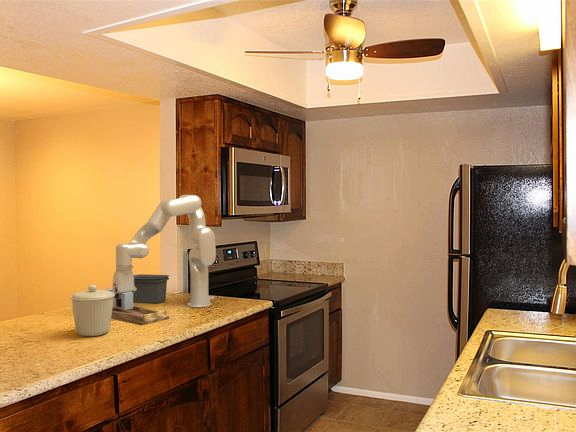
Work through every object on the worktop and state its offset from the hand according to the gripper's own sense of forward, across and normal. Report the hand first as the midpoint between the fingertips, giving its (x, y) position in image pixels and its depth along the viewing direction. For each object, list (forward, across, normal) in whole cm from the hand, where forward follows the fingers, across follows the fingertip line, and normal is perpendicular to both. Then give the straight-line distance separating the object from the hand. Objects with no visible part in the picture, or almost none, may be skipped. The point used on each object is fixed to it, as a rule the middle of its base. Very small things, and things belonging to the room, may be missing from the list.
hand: (123, 305), depth 269 cm
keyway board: (+5, 0, +9) cm, 10 cm away
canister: (+5, +30, +19) cm, 35 cm away
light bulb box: (+5, -7, -15) cm, 18 cm away
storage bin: (+5, -30, -17) cm, 35 cm away
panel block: (+1, 0, 0) cm, 1 cm away
